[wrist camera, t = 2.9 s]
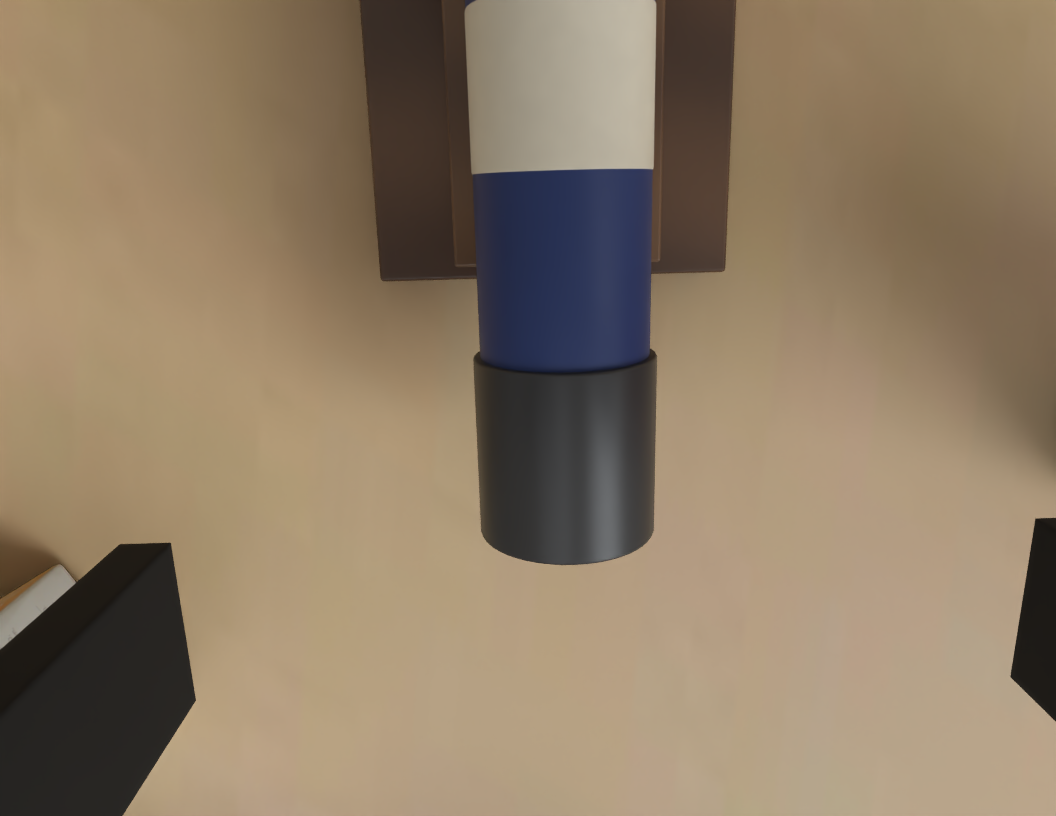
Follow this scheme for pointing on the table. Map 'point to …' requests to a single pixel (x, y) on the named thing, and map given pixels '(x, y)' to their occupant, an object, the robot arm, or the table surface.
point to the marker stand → (444, 136)
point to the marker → (563, 274)
